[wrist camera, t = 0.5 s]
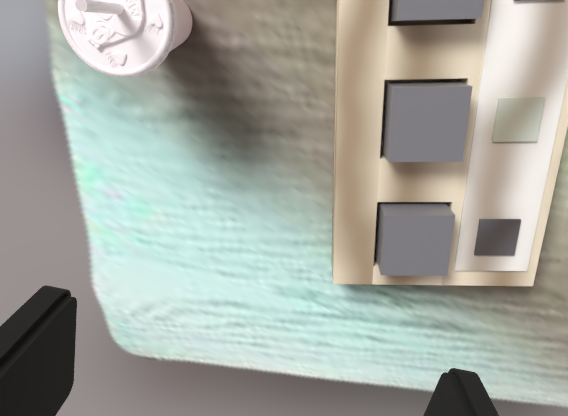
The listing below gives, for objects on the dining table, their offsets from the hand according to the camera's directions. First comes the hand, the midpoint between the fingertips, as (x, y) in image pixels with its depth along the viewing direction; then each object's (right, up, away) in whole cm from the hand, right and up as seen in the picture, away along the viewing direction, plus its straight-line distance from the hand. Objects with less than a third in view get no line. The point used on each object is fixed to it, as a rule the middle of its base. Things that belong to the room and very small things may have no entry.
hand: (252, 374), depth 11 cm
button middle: (+11, +11, +21) cm, 25 cm away
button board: (+13, +12, +23) cm, 29 cm away
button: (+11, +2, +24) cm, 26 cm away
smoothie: (-8, +18, +22) cm, 30 cm away
